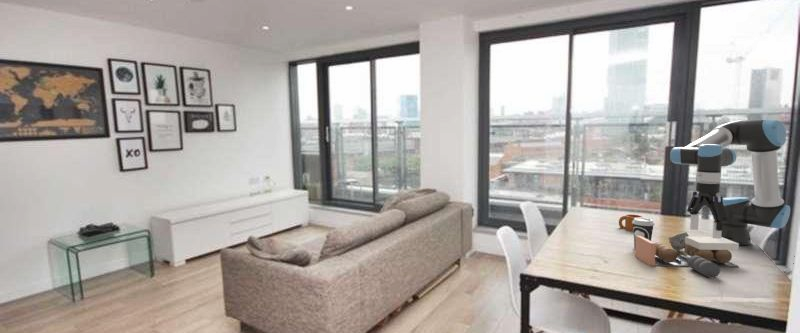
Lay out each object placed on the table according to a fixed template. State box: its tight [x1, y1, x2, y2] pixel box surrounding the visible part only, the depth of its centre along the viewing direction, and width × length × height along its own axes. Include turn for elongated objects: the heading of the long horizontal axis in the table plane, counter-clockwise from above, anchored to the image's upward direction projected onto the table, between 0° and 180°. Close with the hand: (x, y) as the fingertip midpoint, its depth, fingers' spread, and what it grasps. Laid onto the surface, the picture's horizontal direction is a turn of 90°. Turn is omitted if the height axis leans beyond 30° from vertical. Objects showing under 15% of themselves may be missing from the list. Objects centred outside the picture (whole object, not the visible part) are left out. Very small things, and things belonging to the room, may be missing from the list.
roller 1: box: [655, 242, 678, 262], centre depth 178 cm, size 10×6×6 cm, turn 175°
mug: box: [618, 213, 644, 232], centre depth 231 cm, size 9×12×9 cm
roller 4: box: [710, 250, 733, 263], centre depth 176 cm, size 10×6×6 cm, turn 175°
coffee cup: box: [632, 217, 655, 249], centre depth 196 cm, size 10×10×15 cm
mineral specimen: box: [668, 232, 690, 252], centre depth 192 cm, size 10×8×10 cm
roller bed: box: [654, 254, 739, 268], centre depth 178 cm, size 34×14×2 cm, turn 85°
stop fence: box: [634, 235, 657, 267], centre depth 179 cm, size 2×13×10 cm, turn 175°
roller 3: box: [688, 255, 721, 279], centre depth 163 cm, size 10×6×6 cm, turn 175°
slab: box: [685, 236, 740, 251], centre depth 176 cm, size 16×10×3 cm, turn 85°
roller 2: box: [683, 244, 714, 261], centre depth 177 cm, size 10×6×6 cm, turn 175°
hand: (704, 233), depth 162 cm, fingers open, 13 cm apart
